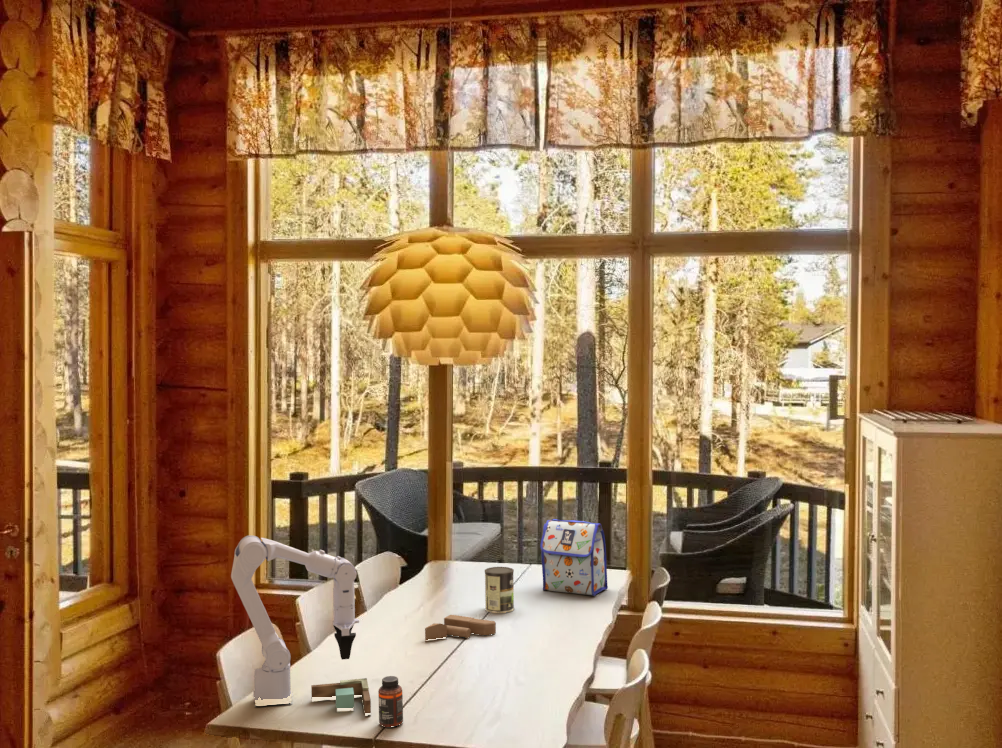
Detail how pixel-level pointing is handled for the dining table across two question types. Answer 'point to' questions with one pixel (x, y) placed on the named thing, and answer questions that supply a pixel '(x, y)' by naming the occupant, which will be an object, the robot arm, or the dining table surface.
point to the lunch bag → (573, 557)
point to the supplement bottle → (390, 702)
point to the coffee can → (499, 589)
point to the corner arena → (357, 684)
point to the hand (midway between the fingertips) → (344, 654)
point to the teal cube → (345, 698)
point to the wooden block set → (460, 627)
